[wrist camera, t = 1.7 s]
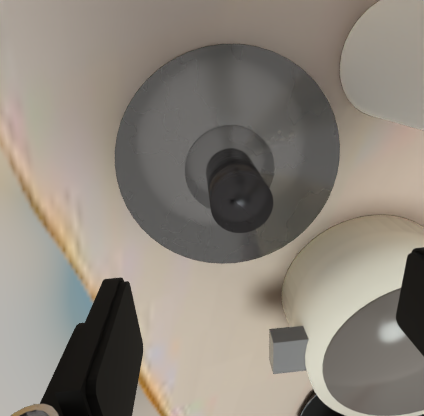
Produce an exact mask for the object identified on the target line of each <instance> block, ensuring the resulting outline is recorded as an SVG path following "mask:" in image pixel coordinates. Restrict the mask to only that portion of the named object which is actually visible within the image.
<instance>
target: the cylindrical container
mask: <svg viewBox="0 0 424 416" xmlns="http://www.w3.org/2000/svg"><path fill="white" fill-rule="evenodd" d="M340 79H341V83H342V88H343V90H344V92H345V94H346V97H347V98H348V100H349V101H350V102H351V103H352V105H353V106H354V107H356V108H357V109H358V110H360V111H361V112H363V113H365V114H367V115H370V116H374V117H377V118H381V119H384V120H388V121H391V122H395V123H398V124H402V125H406V126H409V127H413V128H416V129H420V130H423V131H424V0H380V1H378V2H377V3H376V4H374V5H373V6H371V7H370V8H369V9H368V10H367V11H366V12H365V13H364V14H363V15H362V16H361V17H360V18H359V19H358V21H357V22H356V23H355V25H354V26H353V28H352V29H351V31H350V33H349V35H348V37H347V39H346V41H345V44H344V47H343V50H342V54H341V61H340Z"/></svg>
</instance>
